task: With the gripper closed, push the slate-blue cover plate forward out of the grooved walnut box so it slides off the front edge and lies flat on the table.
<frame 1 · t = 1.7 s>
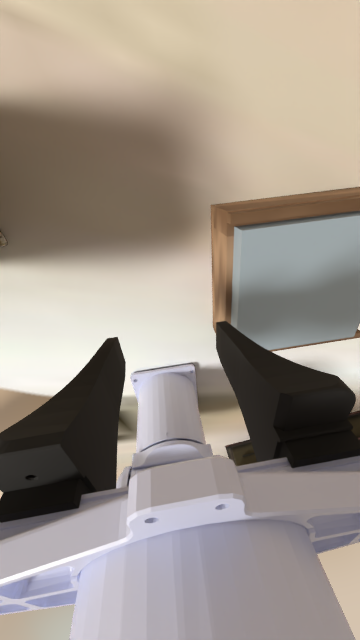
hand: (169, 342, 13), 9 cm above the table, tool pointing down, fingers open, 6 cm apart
cover plate: (297, 285, 18), point 4 cm above the table, touching wooden box
diary: (290, 447, 44), on the table
wooden box: (276, 266, 22), on the table
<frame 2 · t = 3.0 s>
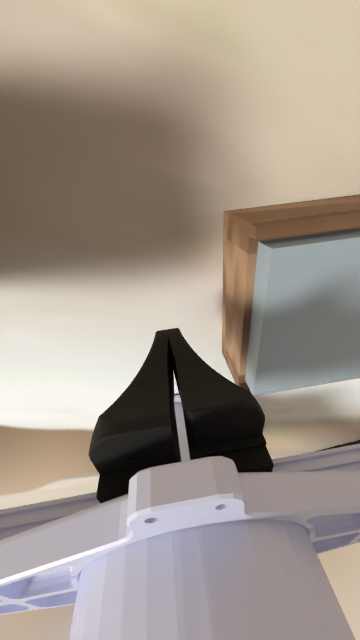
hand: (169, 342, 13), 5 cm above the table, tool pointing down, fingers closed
cover plate: (331, 312, 14), point 4 cm above the table, touching wooden box
wooden box: (299, 284, 18), on the table
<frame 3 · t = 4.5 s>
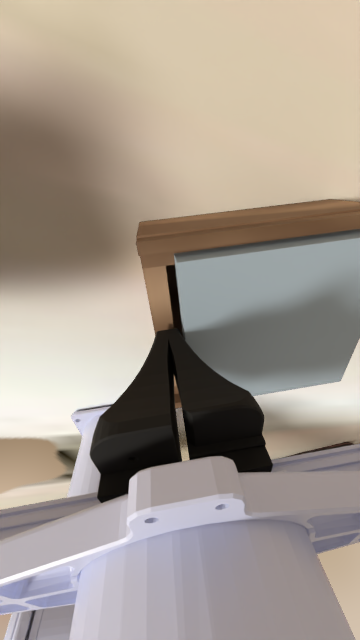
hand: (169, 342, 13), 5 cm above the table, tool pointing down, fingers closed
cover plate: (266, 322, 14), point 5 cm above the table, touching wooden box
wooden box: (233, 294, 18), on the table
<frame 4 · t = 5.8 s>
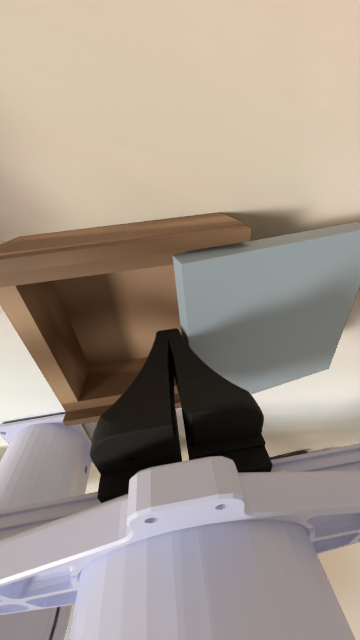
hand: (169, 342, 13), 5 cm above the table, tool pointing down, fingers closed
cover plate: (261, 319, 14), point 4 cm above the table, tilted 10°, touching gripper, wooden box
wooden box: (140, 307, 18), on the table
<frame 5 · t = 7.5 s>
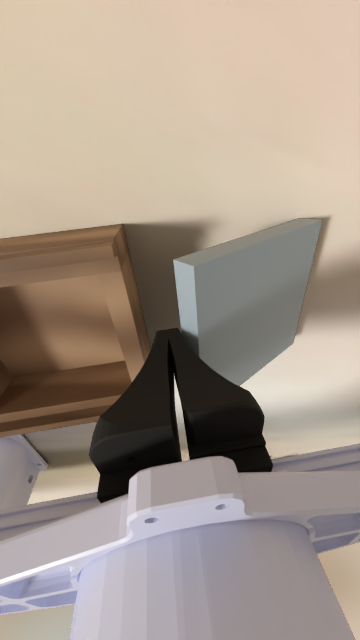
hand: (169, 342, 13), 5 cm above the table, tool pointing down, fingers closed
cover plate: (243, 310, 16), point 3 cm above the table, tilted 30°, touching gripper
wooden box: (58, 318, 17), on the table
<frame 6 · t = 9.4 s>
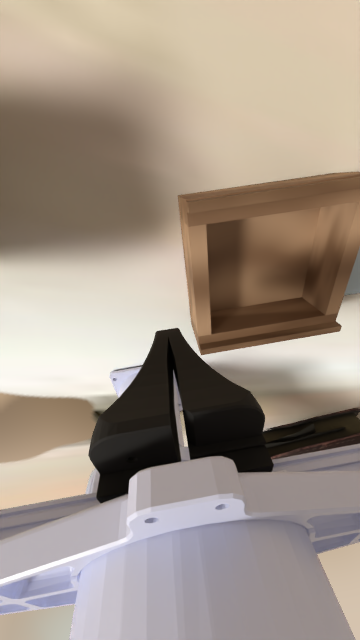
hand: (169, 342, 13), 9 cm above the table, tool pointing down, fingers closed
diary: (283, 444, 43), on the table
wooden box: (252, 259, 21), on the table
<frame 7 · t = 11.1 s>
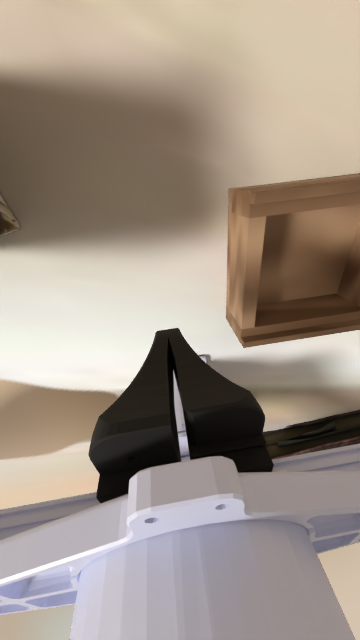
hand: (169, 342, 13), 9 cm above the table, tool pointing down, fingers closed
diary: (299, 442, 43), on the table
wooden box: (292, 254, 21), on the table
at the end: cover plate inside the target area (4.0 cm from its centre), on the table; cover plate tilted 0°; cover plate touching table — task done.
